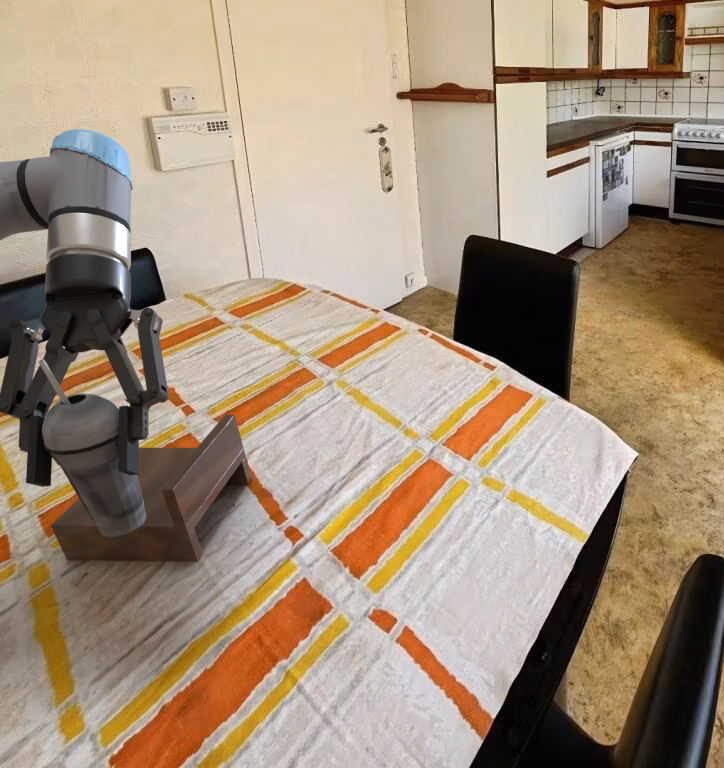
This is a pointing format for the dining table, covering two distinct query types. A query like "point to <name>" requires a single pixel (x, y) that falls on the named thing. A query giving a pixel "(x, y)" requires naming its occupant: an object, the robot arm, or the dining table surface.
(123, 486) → the beverage cup
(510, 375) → the dining table surface
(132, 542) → the shelf
